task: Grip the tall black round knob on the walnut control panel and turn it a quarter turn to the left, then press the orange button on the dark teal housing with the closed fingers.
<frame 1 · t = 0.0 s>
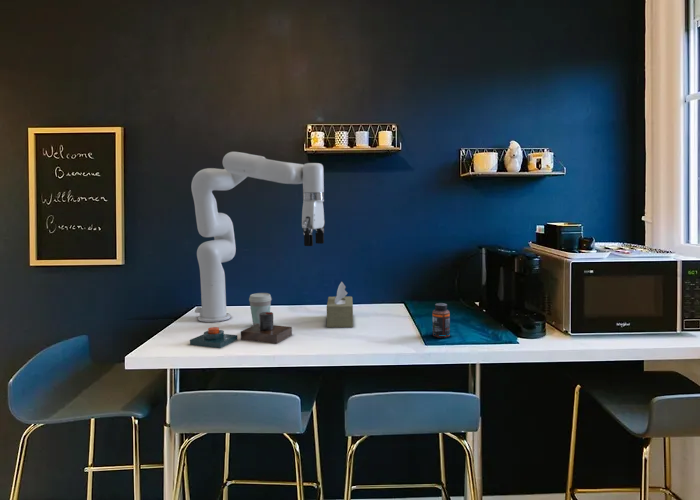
hand: (314, 244, 184), 31 cm above the breakfast bar, tool pointing down, fingers open, 9 cm apart
knob: (266, 320, 175), point 6 cm above the breakfast bar, hinge at 0.0°
supplement bottle: (441, 336, 175), on the breakfast bar
panel: (266, 337, 176), on the breakfast bar
coffee cup: (261, 326, 191), on the breakfast bar
button box: (214, 342, 170), on the breakfast bar
tissue box: (340, 321, 197), on the breakfast bar
button: (213, 330, 170), point 4 cm above the breakfast bar, slide at 0.1 cm
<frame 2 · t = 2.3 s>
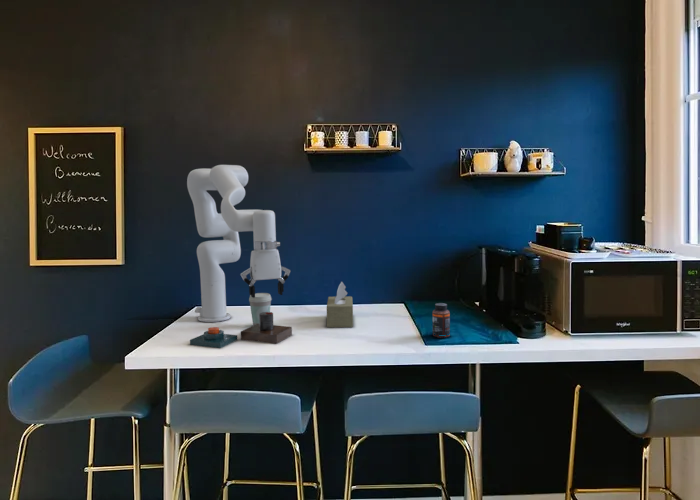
hand: (266, 295, 174), 15 cm above the breakfast bar, tool pointing down, fingers open, 9 cm apart
nothing on the breakfast bar moved.
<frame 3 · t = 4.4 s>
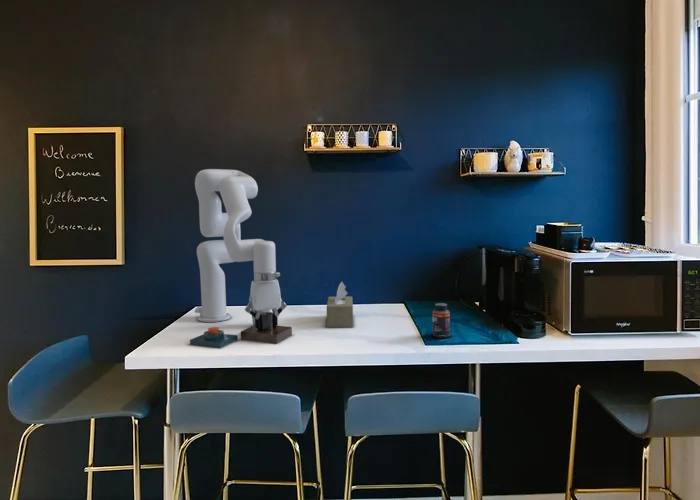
hand: (266, 327, 175), 3 cm above the breakfast bar, tool pointing down, fingers closed on knob, 4 cm apart
knob: (266, 320, 175), point 6 cm above the breakfast bar, hinge at 0.1°, touching gripper
everything else where it was.
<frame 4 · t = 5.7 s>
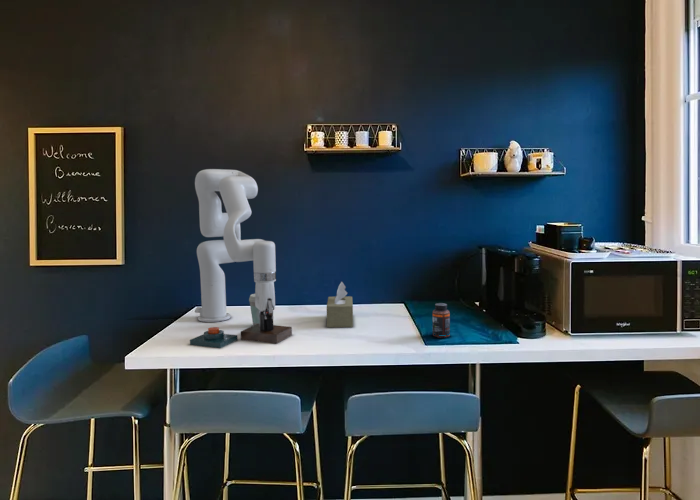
hand: (266, 327, 175), 3 cm above the breakfast bar, tool pointing down, fingers closed on knob, 4 cm apart
knob: (266, 320, 175), point 6 cm above the breakfast bar, hinge at 90.7°, touching gripper
everything else where it was.
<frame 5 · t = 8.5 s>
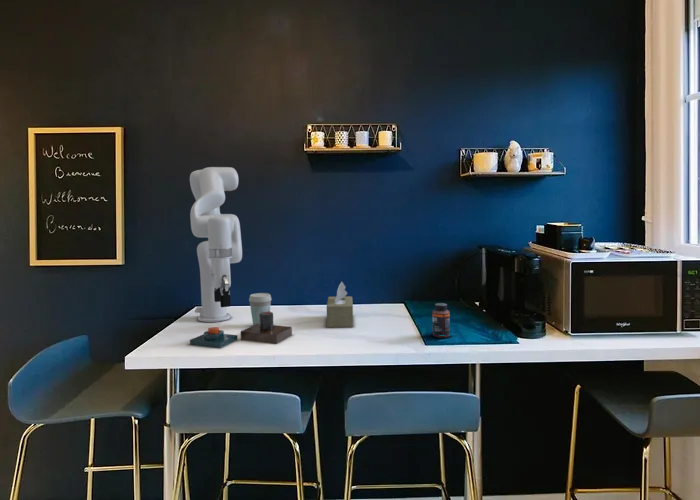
hand: (222, 304, 170), 13 cm above the breakfast bar, tool pointing down, fingers open, 9 cm apart
knob: (266, 320, 175), point 6 cm above the breakfast bar, hinge at 90.6°
everything else where it was.
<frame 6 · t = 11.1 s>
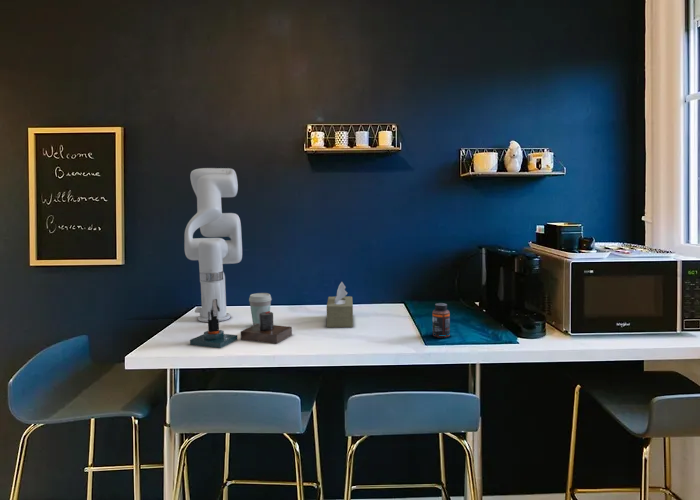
hand: (213, 330, 170), 4 cm above the breakfast bar, tool pointing down, fingers closed
button: (213, 333, 170), point 3 cm above the breakfast bar, slide at -0.7 cm, touching gripper
everything else where it was.
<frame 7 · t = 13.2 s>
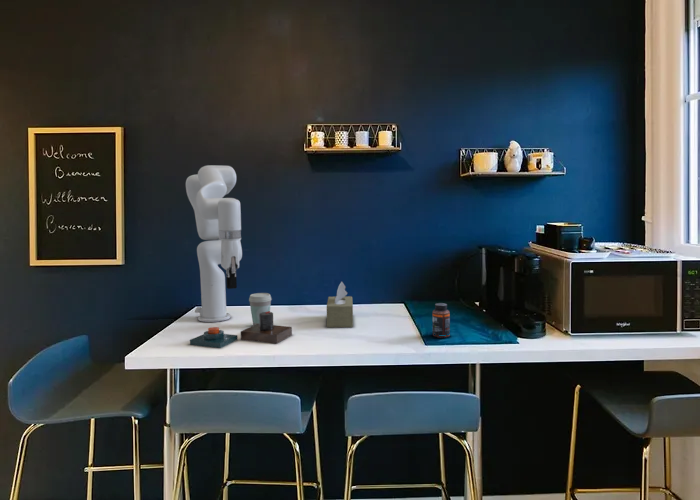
hand: (231, 288, 174), 18 cm above the breakfast bar, tool pointing down, fingers closed
button: (213, 330, 170), point 4 cm above the breakfast bar, slide at 0.1 cm
everything else where it was.
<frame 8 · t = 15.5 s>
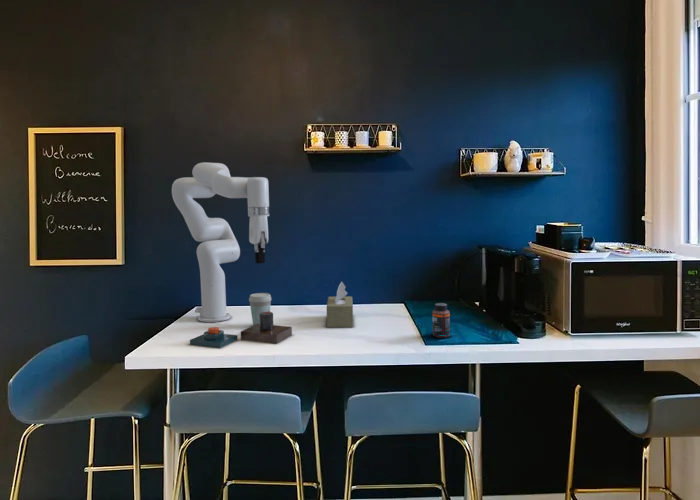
hand: (260, 262, 182), 25 cm above the breakfast bar, tool pointing down, fingers closed
nothing on the breakfast bar moved.
at the end: knob at +91° (first picture: +0°); button pushed in 1.1 cm at the most during the clip and back out by the end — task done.
